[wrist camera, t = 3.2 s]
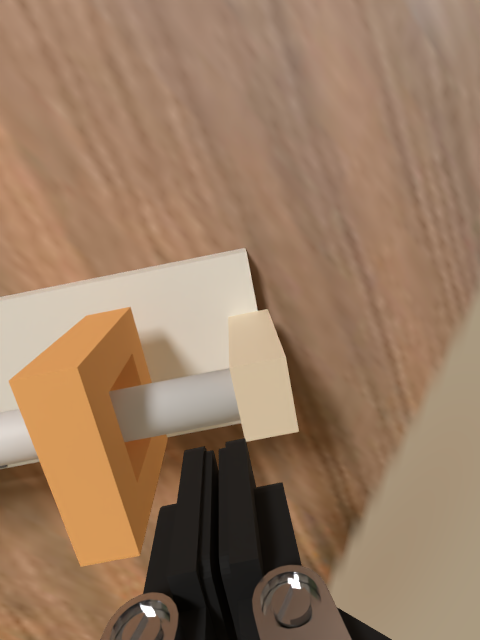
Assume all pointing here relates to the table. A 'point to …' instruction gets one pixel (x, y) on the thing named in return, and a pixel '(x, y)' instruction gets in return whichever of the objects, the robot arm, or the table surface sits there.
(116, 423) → the collar
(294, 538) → the robot arm
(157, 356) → the rod stand
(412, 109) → the table surface
